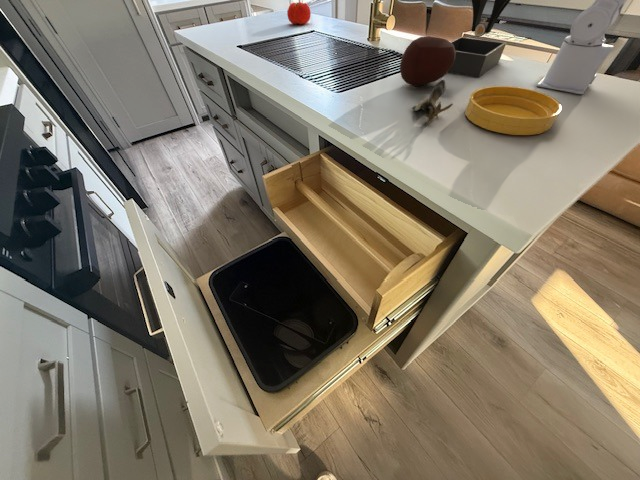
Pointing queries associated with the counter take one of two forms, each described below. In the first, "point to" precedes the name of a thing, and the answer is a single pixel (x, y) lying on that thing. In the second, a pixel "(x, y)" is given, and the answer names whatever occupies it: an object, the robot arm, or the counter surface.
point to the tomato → (298, 13)
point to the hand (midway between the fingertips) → (480, 31)
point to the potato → (426, 60)
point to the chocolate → (480, 28)
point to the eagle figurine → (433, 102)
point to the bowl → (512, 110)
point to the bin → (475, 56)
